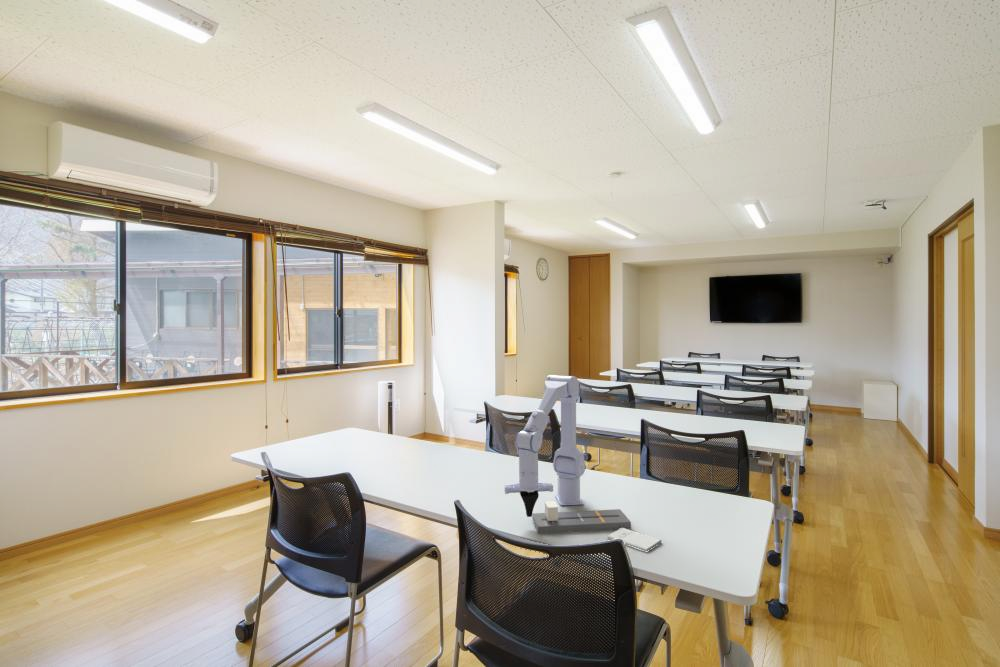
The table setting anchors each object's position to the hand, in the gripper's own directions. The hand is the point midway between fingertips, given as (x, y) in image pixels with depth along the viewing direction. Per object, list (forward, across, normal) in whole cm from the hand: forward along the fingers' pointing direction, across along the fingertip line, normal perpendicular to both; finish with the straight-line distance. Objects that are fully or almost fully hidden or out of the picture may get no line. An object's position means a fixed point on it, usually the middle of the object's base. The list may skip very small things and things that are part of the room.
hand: (529, 515), depth 154 cm
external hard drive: (+4, +28, -13) cm, 31 cm away
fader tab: (+1, +7, 0) cm, 7 cm away
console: (+3, +16, 0) cm, 16 cm away
